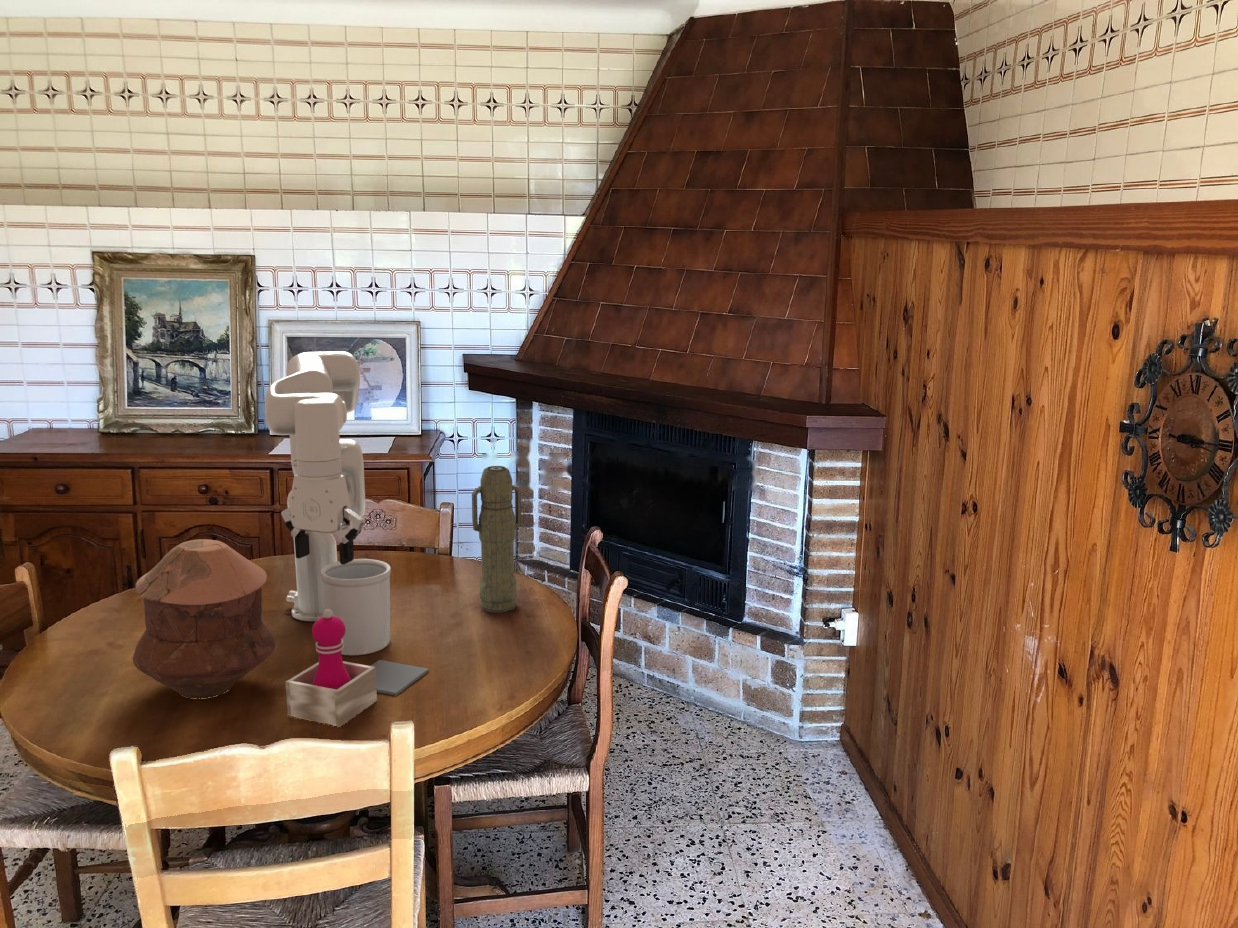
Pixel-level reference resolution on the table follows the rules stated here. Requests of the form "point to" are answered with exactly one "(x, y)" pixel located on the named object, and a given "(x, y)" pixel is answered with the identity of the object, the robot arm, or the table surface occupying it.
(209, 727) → the table surface
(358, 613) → the utensil holder
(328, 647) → the pepper mill
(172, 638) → the pottery vessel
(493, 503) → the thermos
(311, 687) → the crate
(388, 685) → the mat
